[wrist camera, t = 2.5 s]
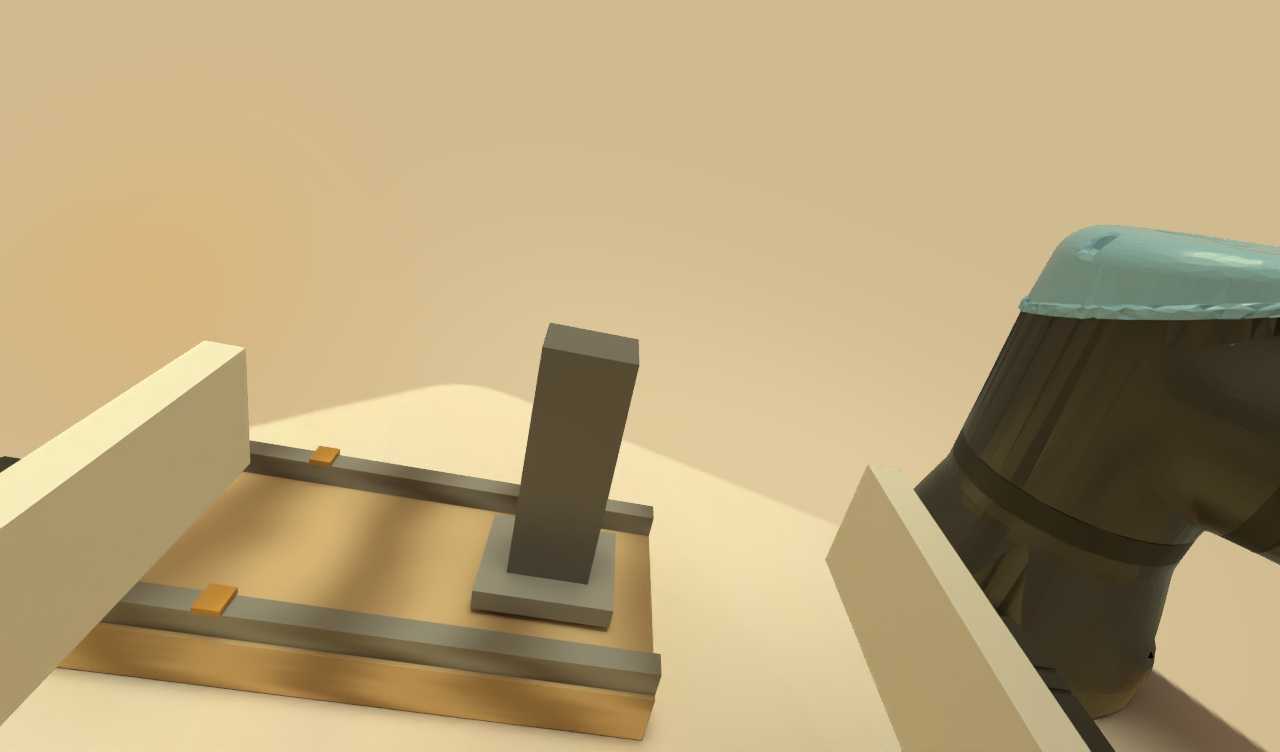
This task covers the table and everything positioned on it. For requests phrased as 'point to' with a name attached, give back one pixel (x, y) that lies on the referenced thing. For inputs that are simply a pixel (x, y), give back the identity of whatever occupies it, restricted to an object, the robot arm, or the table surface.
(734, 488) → the table surface
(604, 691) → the fader console
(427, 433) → the table surface
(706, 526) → the table surface
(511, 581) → the fader tab
